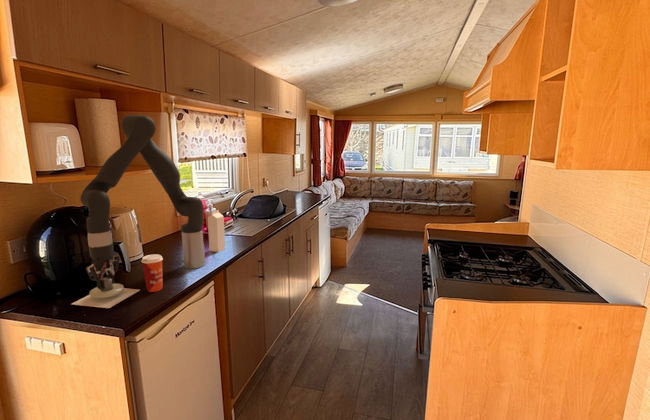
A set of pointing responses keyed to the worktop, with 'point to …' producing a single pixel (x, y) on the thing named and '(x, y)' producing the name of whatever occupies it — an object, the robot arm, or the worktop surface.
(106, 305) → the mat
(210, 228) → the milk
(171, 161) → the robot arm
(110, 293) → the lid
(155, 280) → the paper cup
